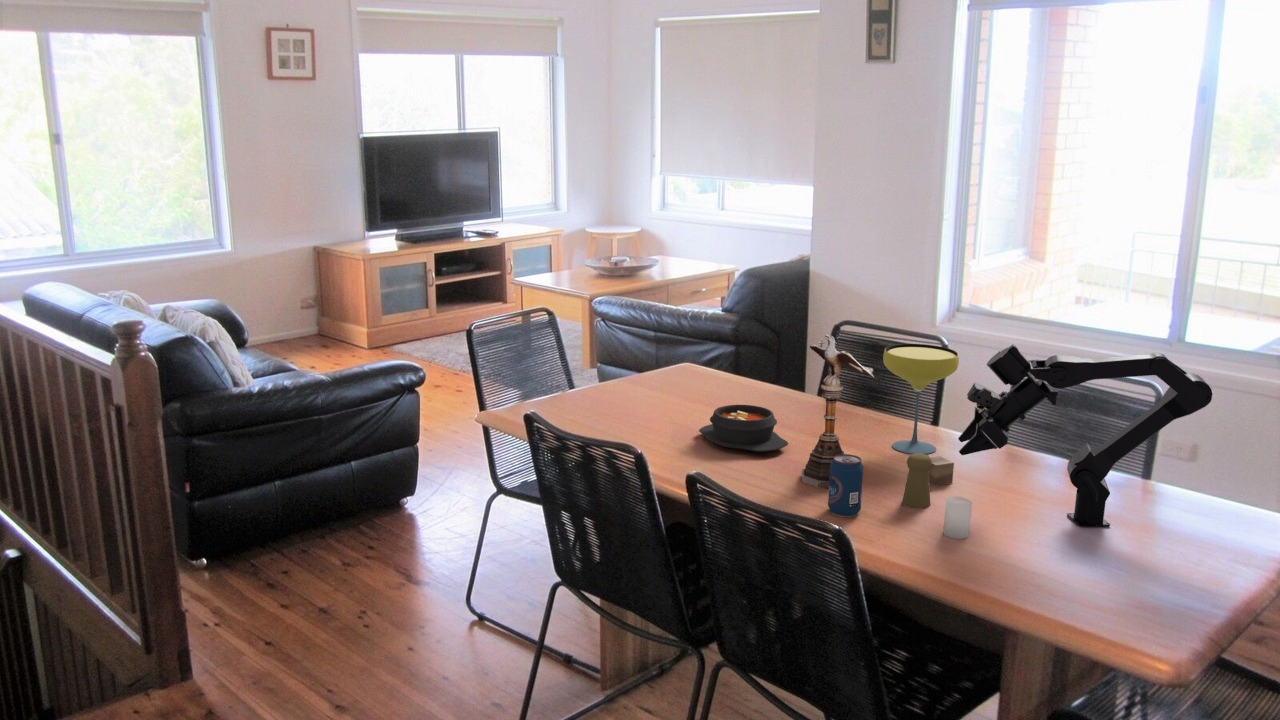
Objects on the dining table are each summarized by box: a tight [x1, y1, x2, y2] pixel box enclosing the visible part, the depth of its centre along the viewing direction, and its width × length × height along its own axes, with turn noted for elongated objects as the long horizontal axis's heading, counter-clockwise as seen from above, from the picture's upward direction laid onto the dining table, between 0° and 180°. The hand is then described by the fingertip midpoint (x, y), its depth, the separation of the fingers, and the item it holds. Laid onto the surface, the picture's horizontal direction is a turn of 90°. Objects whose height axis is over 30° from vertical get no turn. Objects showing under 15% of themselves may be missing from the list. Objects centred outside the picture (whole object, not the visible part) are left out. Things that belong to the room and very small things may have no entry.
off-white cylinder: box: [942, 496, 973, 540], centre depth 212 cm, size 5×5×7 cm
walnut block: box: [929, 455, 955, 486], centre depth 243 cm, size 5×5×5 cm
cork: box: [901, 453, 932, 509], centre depth 228 cm, size 6×6×11 cm
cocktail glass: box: [882, 343, 960, 455], centre depth 264 cm, size 18×18×25 cm
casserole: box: [698, 404, 789, 453], centre depth 268 cm, size 25×19×8 cm
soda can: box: [827, 453, 865, 518], centre depth 222 cm, size 7×7×12 cm
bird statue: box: [801, 333, 875, 489], centre depth 241 cm, size 17×13×35 cm
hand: (959, 446), depth 224 cm, fingers open, 9 cm apart
